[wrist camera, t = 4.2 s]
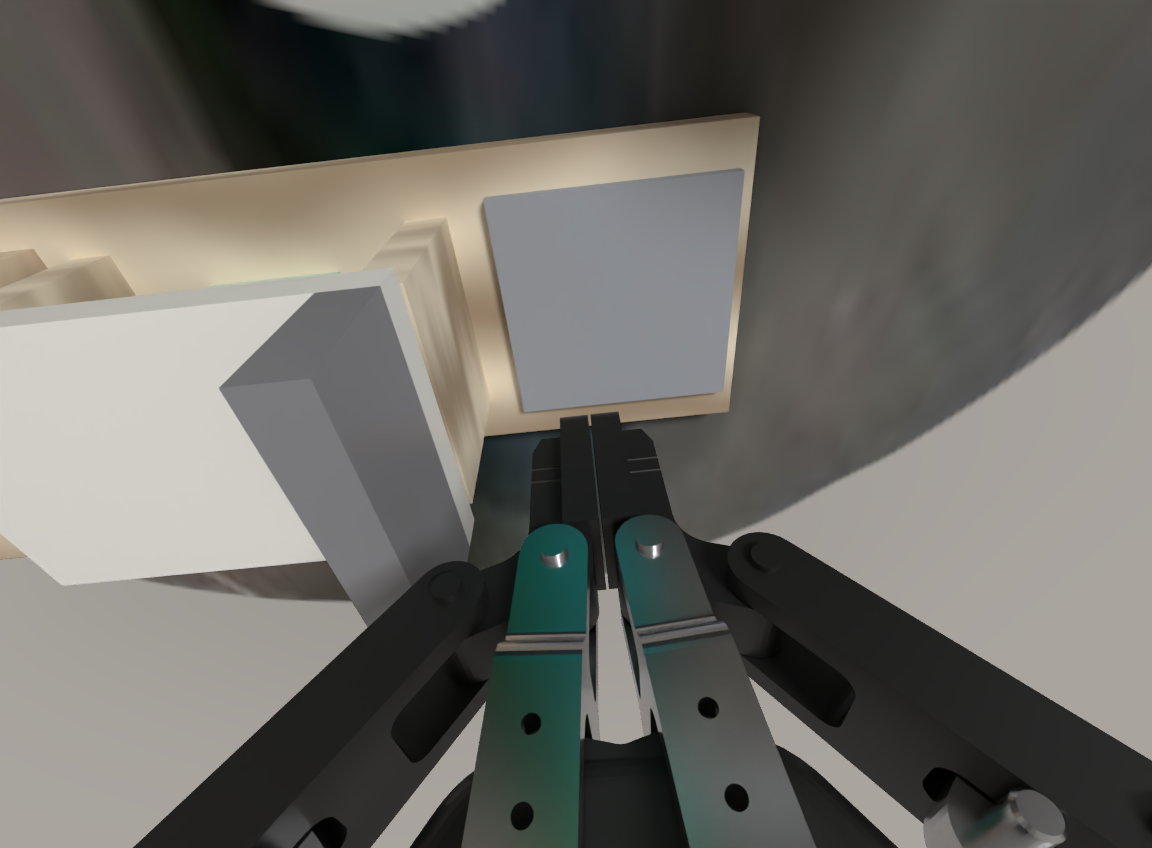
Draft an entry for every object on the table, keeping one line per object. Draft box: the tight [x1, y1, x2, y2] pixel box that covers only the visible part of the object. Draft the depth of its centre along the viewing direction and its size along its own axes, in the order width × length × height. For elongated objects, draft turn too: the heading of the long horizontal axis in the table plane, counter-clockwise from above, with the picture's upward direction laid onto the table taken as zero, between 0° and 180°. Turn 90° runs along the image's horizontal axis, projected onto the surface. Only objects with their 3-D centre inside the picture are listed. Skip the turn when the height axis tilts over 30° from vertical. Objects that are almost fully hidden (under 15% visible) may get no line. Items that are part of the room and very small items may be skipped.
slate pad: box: [483, 168, 745, 412], centre depth 20 cm, size 9×9×1 cm
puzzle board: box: [0, 112, 760, 560], centre depth 18 cm, size 12×40×8 cm, turn 96°
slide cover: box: [0, 267, 474, 627], centre depth 13 cm, size 9×14×5 cm, turn 96°
